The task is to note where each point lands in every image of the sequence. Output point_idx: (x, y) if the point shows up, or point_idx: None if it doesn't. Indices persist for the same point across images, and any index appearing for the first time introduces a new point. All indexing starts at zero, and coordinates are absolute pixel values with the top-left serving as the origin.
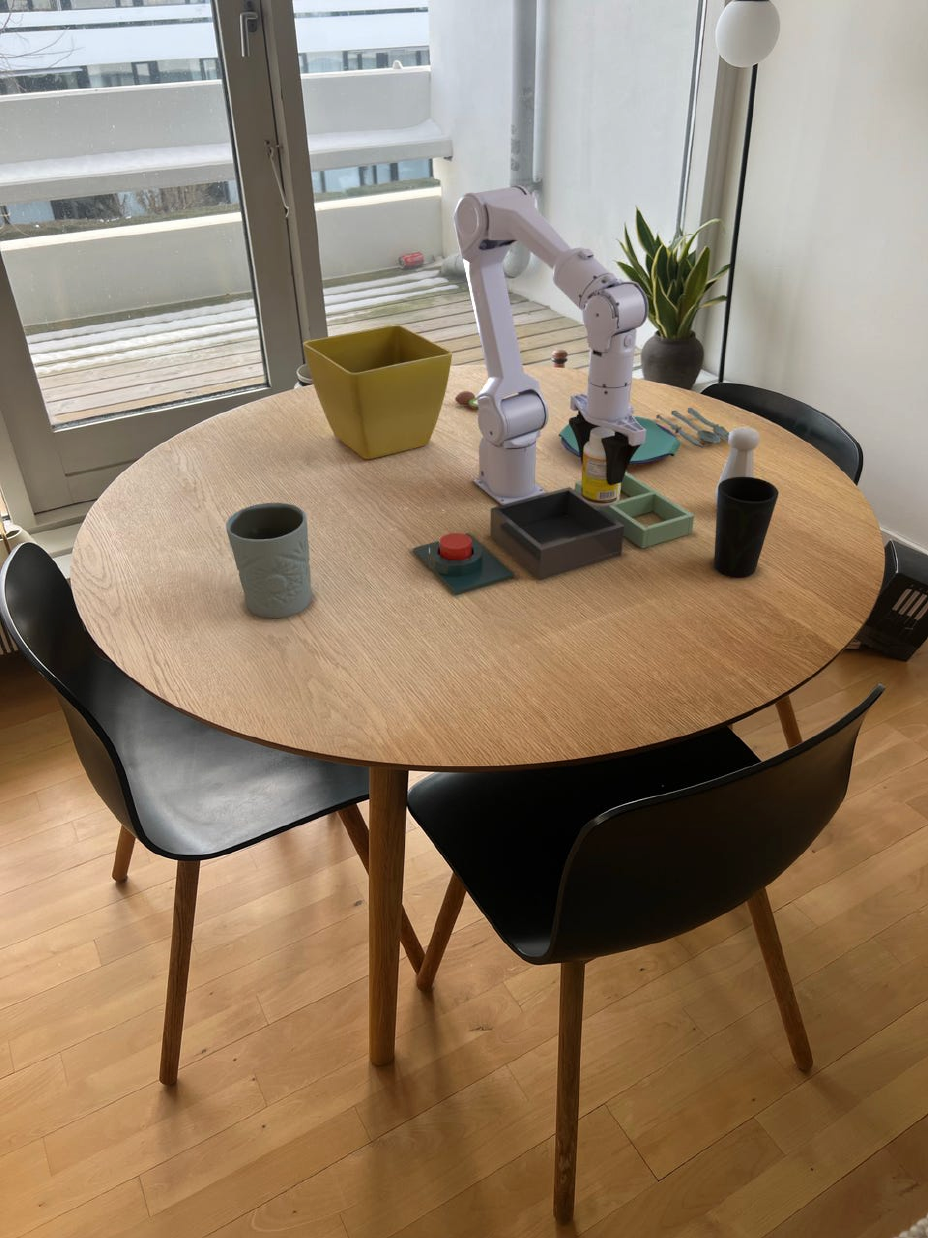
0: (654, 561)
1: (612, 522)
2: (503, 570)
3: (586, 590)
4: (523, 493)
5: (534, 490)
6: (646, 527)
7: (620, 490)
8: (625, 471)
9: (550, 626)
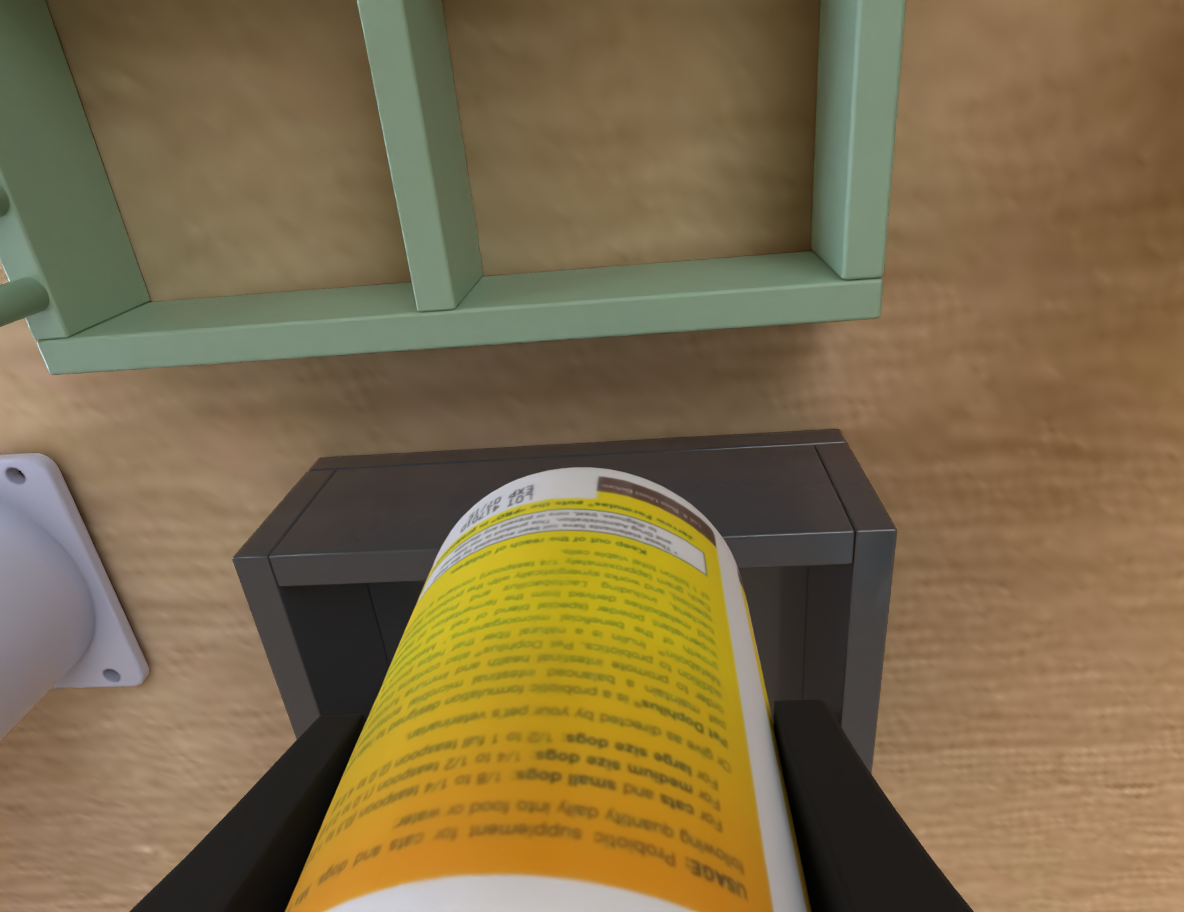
0: (1003, 293)
1: (807, 564)
2: None
3: (994, 702)
4: (74, 596)
5: (16, 505)
6: (853, 275)
7: (682, 528)
8: (883, 794)
9: (1099, 888)
